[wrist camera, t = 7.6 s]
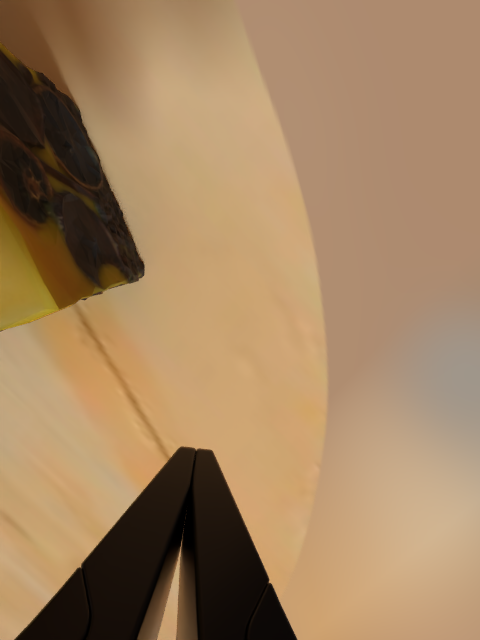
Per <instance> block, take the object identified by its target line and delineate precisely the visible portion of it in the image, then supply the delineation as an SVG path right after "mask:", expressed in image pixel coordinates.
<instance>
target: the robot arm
mask: <svg viewBox="0 0 480 640" xmlns="http://www.w3.org/2000/svg"><path fill="white" fill-rule="evenodd" d="M195 454H196V455H195ZM185 518H186V519H185ZM184 524H185V525H184ZM183 530H184V532H183ZM182 537H183V538H182ZM181 542H182V546H181ZM180 548H181V557H180V575H179V595H178V615H177V635H176V640H297V638H296V636H295V634H294V631H293V629H292V627H291V625H290V623H289V621H288V619H287V617H286V614H285V612H284V610H283V608H282V606H281V604H280V602H279V599H278V597H277V595H276V592H275V590H274V588H273V586H272V584H271V583H269V577H268V575H267V573H266V570H265V568H264V566H263V563H262V561H261V559H260V557H259V554H258V552H257V550H256V548H255V545H254V543H253V541H252V539H251V536H250V534H249V532H248V530H247V527H246V525H245V523H244V520H243V518H242V516H241V514H240V511H239V509H238V507H237V505H236V502H235V500H234V498H233V496H232V493H231V491H230V489H229V487H228V484H227V482H226V480H225V478H224V475H223V473H222V471H221V468H220V466H219V464H218V462H217V459H216V457H215V455H214V453H213V451H212V450H208V449H200V448H199V449H197V450H196V449H195V448H191V447H180V448H179V449H178V450H177V451H176V452H175V453H174V454H173V456H172V457H171V458H170V459H169V460H168V462H167V463H166V464H165V465H164V466H163V468H162V469H161V470H160V471H159V472H158V474H157V475H156V476H155V477H154V478H153V479H152V481H151V482H150V483H149V484H148V485H147V487H146V488H145V489H144V490H143V491H142V493H141V494H140V495H139V496H138V497H137V498H136V500H135V501H134V502H133V503H132V504H131V506H130V507H129V508H128V509H127V510H126V512H125V513H124V514H123V515H122V516H121V517H120V519H119V520H118V521H117V522H116V523H115V525H114V526H113V527H112V528H111V529H110V531H109V532H108V533H107V534H106V535H105V536H104V538H103V539H102V540H101V541H100V542H99V544H98V545H97V546H96V547H95V548H94V550H93V551H92V552H91V553H90V554H89V556H88V557H87V558H86V559H85V560H84V561H83V563H82V564H81V568H80V567H79V568H77V569H76V571H75V572H74V573H73V574H72V575H71V577H70V578H69V579H68V580H67V581H66V583H65V584H64V585H63V586H62V587H61V589H60V590H59V591H58V592H57V593H56V594H55V595H54V596H53V598H52V599H51V600H50V601H49V602H48V603H47V604H46V606H45V607H44V608H43V609H42V610H41V611H40V612H39V613H38V615H37V616H36V617H35V618H34V619H33V620H32V621H31V623H30V624H29V625H28V626H27V627H26V628H25V629H24V630H23V631H22V632H21V633H20V634H19V635H18V636H17V637H16V638H15V639H14V640H157V637H158V633H159V630H160V626H161V622H162V618H163V614H164V611H165V607H166V603H167V599H168V595H169V591H170V588H171V584H172V580H173V576H174V572H175V569H176V565H177V561H178V557H179V552H180Z"/></svg>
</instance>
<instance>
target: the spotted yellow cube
mask: <svg viewBox="0 0 480 640" xmlns="http://www.w3.org/2000/svg"><path fill="white" fill-rule="evenodd" d="M122 216H123V213H122V211H121V210H120V208H119V206H118V204H117V202H116V199H115V197H114V195H113V193H112V192H111V190H110V187H109V185H108V182H107V180H106V178H105V176H104V174H103V171H102V168H101V166H100V163H99V157H98V155H97V154H96V152H95V151H94V150H93V148H92V147H91V145H90V141H89V138H88V135H87V132H86V130H85V128H84V126H83V124H82V120H81V115H80V111H79V109H78V108H77V107H76V105H75V104H74V103H73V101H72V100H71V99H70V98H69V97H68V96H67V95H65V94H63V93H61V92H60V91H58V90H57V89H56V87H55V84H53V83H52V82H51V81H50V80H49V79H48V78H47V77H46V76H45V75H44V74H43V73H39V72H36V71H34V70H32V69H30V68H28V67H26V66H25V65H24V64H23V63H22V62H21V61H19V60H18V59H17V58H16V57H15V56H14V55H13V54H12V53H11V52H10V51H9V50H8V49H7V48H6V47H5V46H4V45H3V44H2V43H1V42H0V331H3V330H5V329H8V328H12V327H15V326H19V325H23V324H26V323H30V322H32V321H35V320H37V319H40V318H42V317H45V316H47V315H50V314H52V313H55V312H57V311H60V310H62V309H65V308H67V307H70V306H71V305H73V304H75V303H76V302H77V301H79V300H80V299H81V300H86V299H87V298H88V297H90V296H93V295H98V294H102V293H103V291H105V290H108V289H111V288H114V287H118V286H121V285H124V284H128V283H133V282H136V281H139V278H142V277H143V276H144V264H143V263H142V262H141V261H140V260H139V257H138V254H137V252H136V249H135V244H134V241H133V240H132V239H131V237H130V236H129V234H128V230H127V227H126V225H125V222H124V220H123V219H122Z"/></svg>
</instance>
